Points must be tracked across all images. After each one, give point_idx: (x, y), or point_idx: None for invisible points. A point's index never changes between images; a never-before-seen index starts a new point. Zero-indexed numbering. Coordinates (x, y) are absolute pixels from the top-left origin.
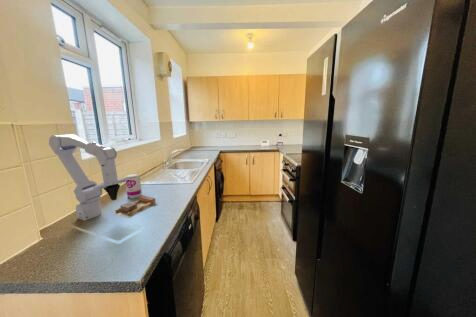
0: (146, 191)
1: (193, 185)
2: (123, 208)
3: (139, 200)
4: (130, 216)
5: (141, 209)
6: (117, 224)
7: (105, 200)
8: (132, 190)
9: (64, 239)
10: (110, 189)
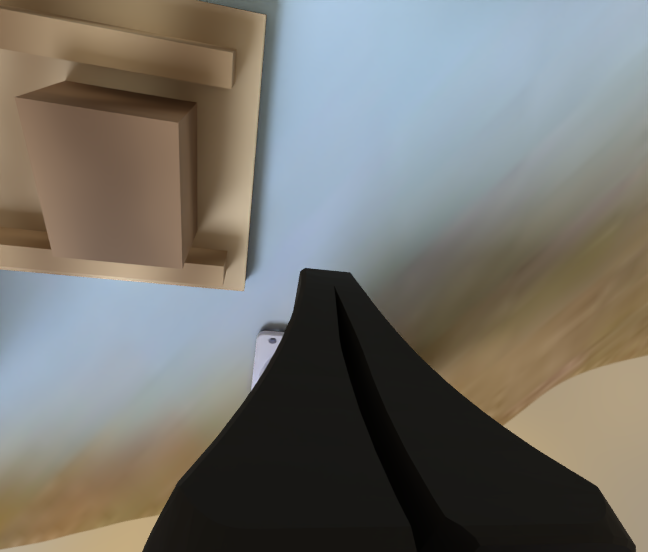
0: None
1: None
2: (187, 208)
3: None
4: (240, 17)
5: (23, 8)
6: (394, 65)
7: (98, 488)
8: None
9: (603, 275)
10: (603, 500)
